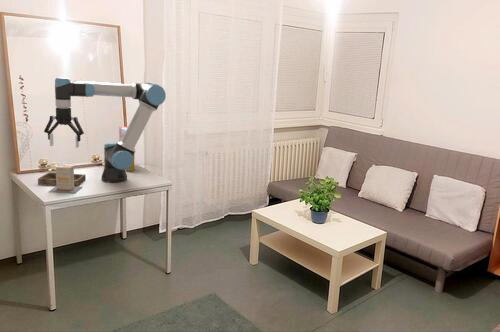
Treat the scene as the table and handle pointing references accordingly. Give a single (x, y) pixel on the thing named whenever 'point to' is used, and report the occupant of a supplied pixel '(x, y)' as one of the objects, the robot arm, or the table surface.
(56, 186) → the rubber mat
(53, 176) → the brown wooden tray
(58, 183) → the supplement box
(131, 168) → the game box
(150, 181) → the table surface
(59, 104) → the robot arm
